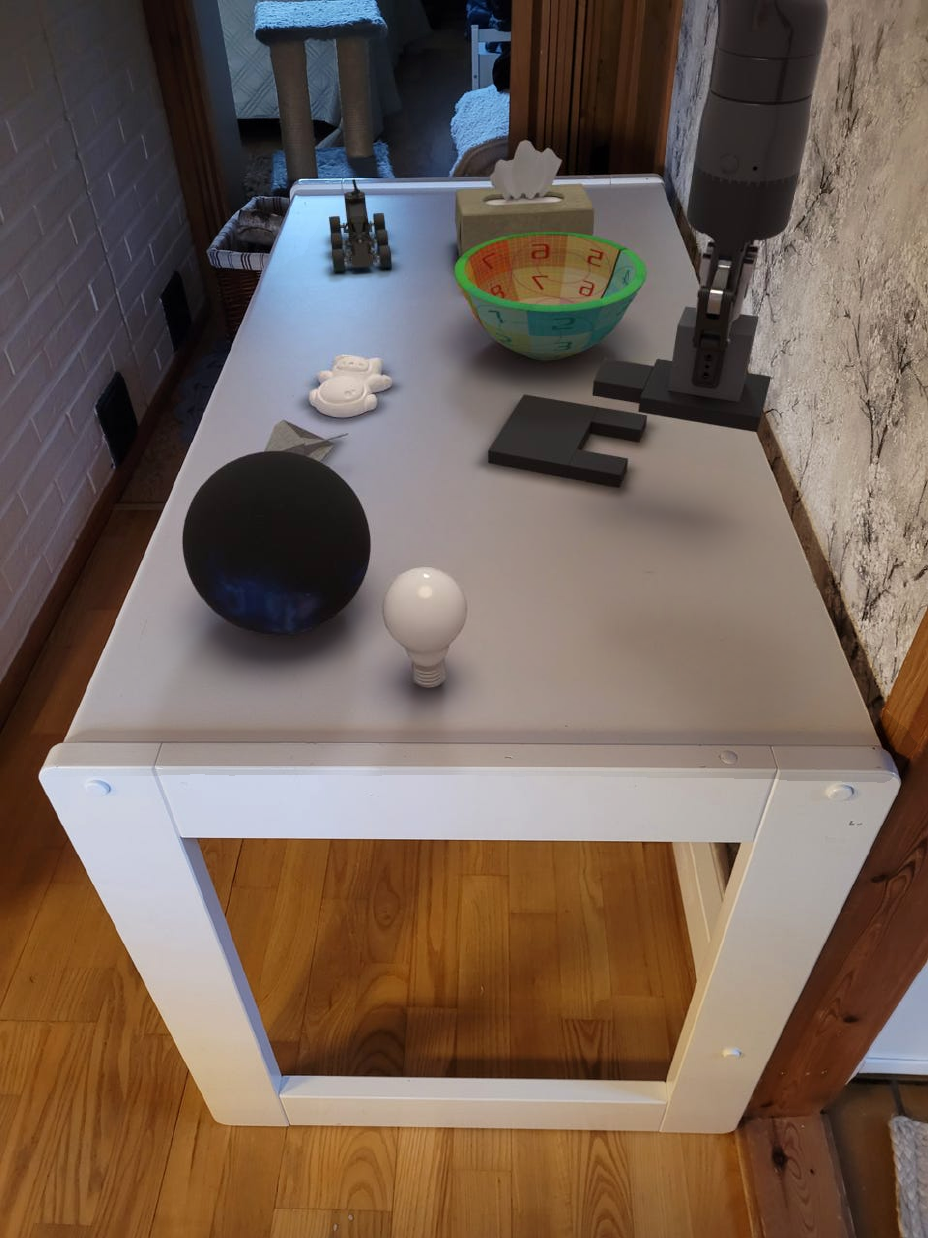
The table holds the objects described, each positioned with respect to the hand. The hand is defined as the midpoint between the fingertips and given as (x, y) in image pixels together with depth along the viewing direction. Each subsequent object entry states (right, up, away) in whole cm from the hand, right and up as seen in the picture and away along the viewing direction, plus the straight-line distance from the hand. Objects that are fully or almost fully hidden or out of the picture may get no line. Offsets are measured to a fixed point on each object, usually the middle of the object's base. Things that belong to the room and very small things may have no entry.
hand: (709, 372), depth 81 cm
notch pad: (-10, -2, +21) cm, 23 cm away
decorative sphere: (-36, -20, +3) cm, 41 cm away
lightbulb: (-24, -26, -4) cm, 35 cm away
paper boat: (-37, -6, +18) cm, 42 cm away
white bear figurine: (-34, +6, +30) cm, 46 cm away
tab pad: (-2, -2, +2) cm, 4 cm away
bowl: (-11, +13, +37) cm, 41 cm away
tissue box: (-12, +32, +58) cm, 67 cm away
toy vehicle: (-36, +33, +60) cm, 77 cm away
